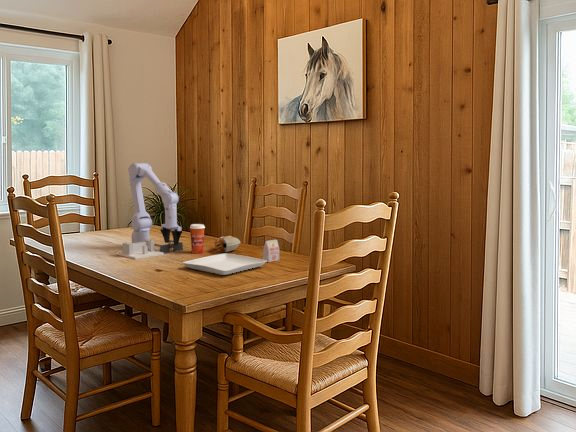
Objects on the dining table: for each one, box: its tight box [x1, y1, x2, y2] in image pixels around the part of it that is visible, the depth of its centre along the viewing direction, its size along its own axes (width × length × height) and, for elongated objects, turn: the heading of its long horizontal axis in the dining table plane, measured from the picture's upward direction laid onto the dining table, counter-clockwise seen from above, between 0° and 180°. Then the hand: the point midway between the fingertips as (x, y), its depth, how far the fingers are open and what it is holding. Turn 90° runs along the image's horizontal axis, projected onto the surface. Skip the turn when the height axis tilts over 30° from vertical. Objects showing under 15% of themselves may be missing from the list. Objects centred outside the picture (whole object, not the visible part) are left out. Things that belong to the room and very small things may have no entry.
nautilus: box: [209, 235, 241, 255], centre depth 296 cm, size 8×22×15 cm
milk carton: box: [262, 239, 280, 263], centre depth 273 cm, size 4×7×10 cm, turn 131°
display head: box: [116, 239, 165, 260], centre depth 286 cm, size 16×16×6 cm
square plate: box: [181, 252, 267, 276], centre depth 258 cm, size 27×27×4 cm
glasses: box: [154, 239, 184, 254], centre depth 298 cm, size 12×13×4 cm
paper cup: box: [189, 223, 206, 255], centre depth 293 cm, size 8×8×14 cm
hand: (171, 243), depth 295 cm, fingers open, 7 cm apart
